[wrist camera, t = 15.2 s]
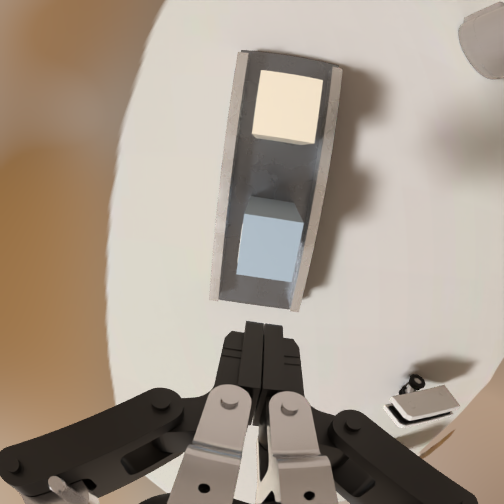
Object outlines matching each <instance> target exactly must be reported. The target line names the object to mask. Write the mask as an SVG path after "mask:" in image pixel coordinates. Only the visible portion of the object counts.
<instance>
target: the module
mask: <svg viewBox="0 0 504 504" xmlns="http://www.w3.org/2000/svg"><path fill="white" fill-rule="evenodd" d="M303 225H304V222H303V220H302V218H301V216H300V214H299V212H298V210H297V208H296V206H295V204H294V203H292V202H286V201H280V200H274V199H267V198H260V197H254V196H250V199H249V202H248V205H247V207H246V210H245V213H244V219H243V224H242V231H241V238H240V246H239V254H238V261H237V263H238V265H237V273H236V274H238V275H245V276H252V277H258V278H265V279H272V280H279V281H286V282H292V277H293V273H294V268H295V264H296V259H297V254H298V249H299V245H300V240H301V235H302V230H303Z"/></svg>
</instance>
